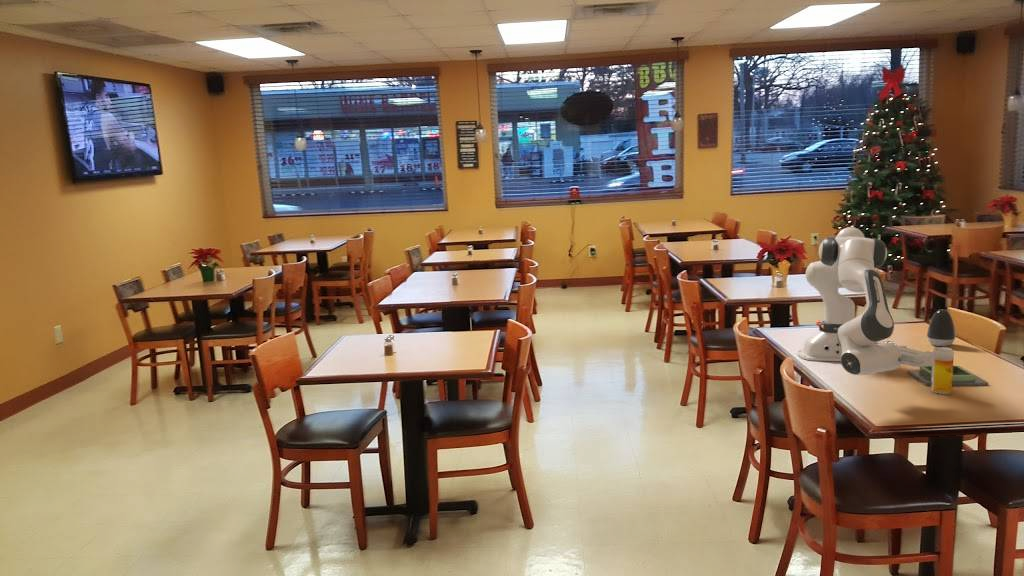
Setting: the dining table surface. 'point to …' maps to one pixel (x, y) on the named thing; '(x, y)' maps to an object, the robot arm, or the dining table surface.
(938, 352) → the beer can
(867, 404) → the dining table surface
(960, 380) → the green and grey tray
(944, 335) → the dark grey egg shape
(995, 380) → the dining table surface
